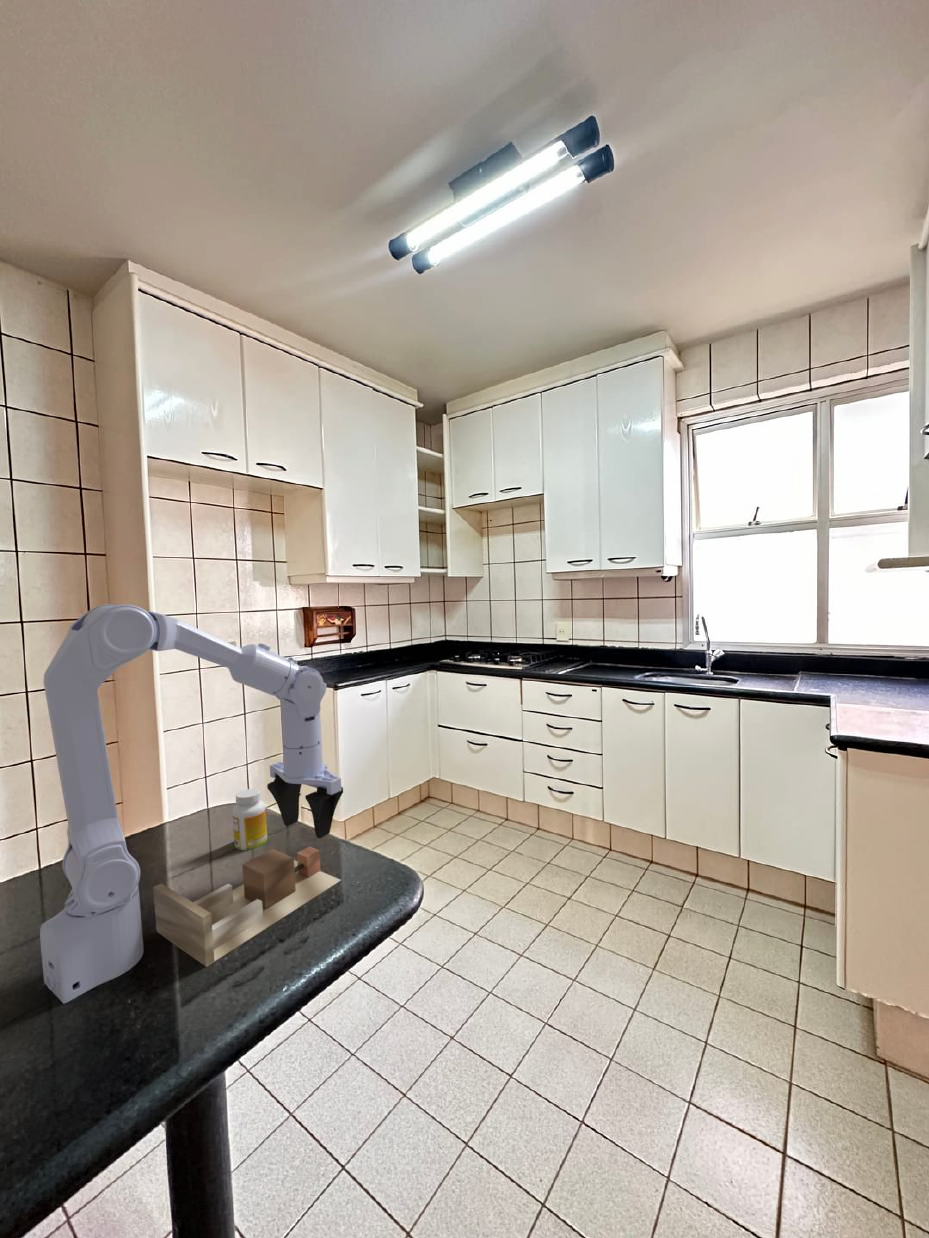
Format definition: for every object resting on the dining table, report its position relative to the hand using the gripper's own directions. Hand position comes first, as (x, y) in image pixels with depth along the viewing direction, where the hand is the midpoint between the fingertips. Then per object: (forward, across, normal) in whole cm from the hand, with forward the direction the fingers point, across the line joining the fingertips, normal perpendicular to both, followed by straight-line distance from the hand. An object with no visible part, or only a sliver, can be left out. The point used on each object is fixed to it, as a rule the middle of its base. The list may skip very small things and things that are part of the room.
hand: (306, 829), depth 81 cm
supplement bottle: (+8, +17, -1) cm, 19 cm away
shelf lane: (+8, 0, +9) cm, 12 cm away
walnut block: (+7, 0, +4) cm, 8 cm away
